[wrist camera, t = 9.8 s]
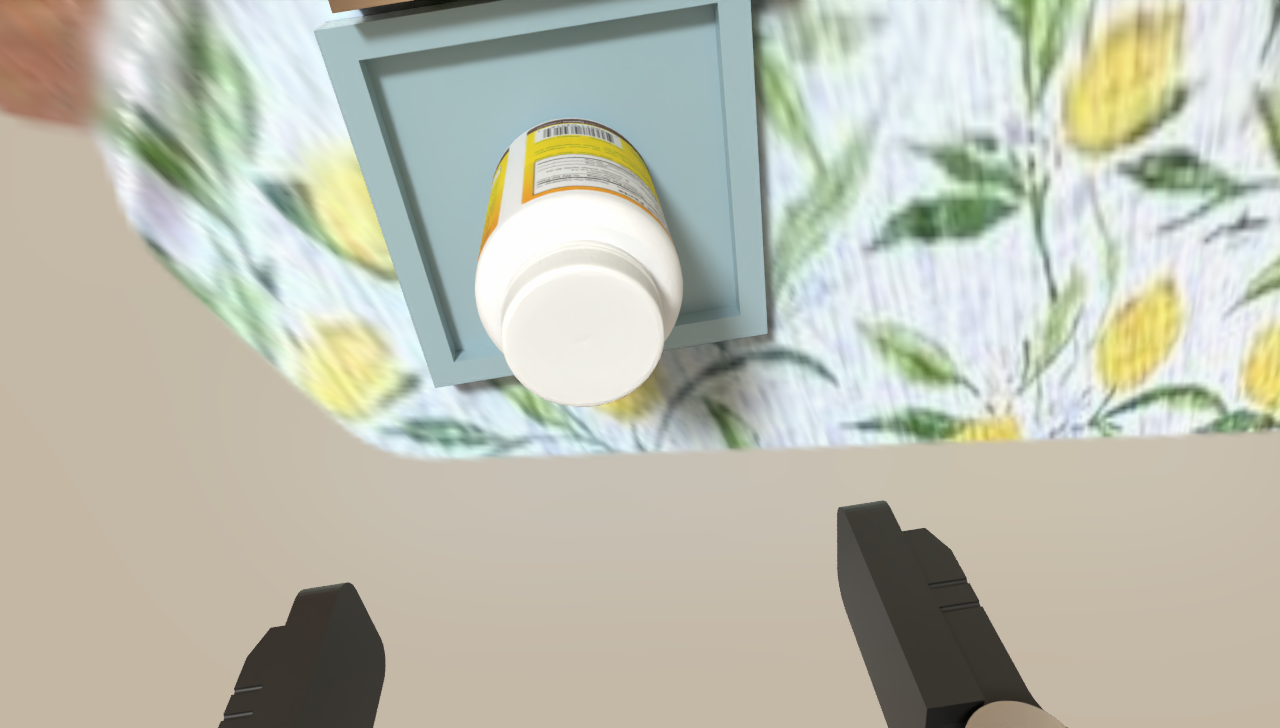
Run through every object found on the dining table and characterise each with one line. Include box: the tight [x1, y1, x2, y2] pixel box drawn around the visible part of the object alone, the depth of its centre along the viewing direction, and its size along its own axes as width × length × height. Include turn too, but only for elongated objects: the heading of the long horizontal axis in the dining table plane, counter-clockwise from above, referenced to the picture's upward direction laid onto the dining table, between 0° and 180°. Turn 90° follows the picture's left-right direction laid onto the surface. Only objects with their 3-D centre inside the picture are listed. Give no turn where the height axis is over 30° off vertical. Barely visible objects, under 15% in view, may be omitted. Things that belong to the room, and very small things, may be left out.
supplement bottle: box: [475, 118, 683, 407], centre depth 23 cm, size 6×6×10 cm
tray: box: [314, 0, 768, 388], centre depth 27 cm, size 13×13×1 cm
